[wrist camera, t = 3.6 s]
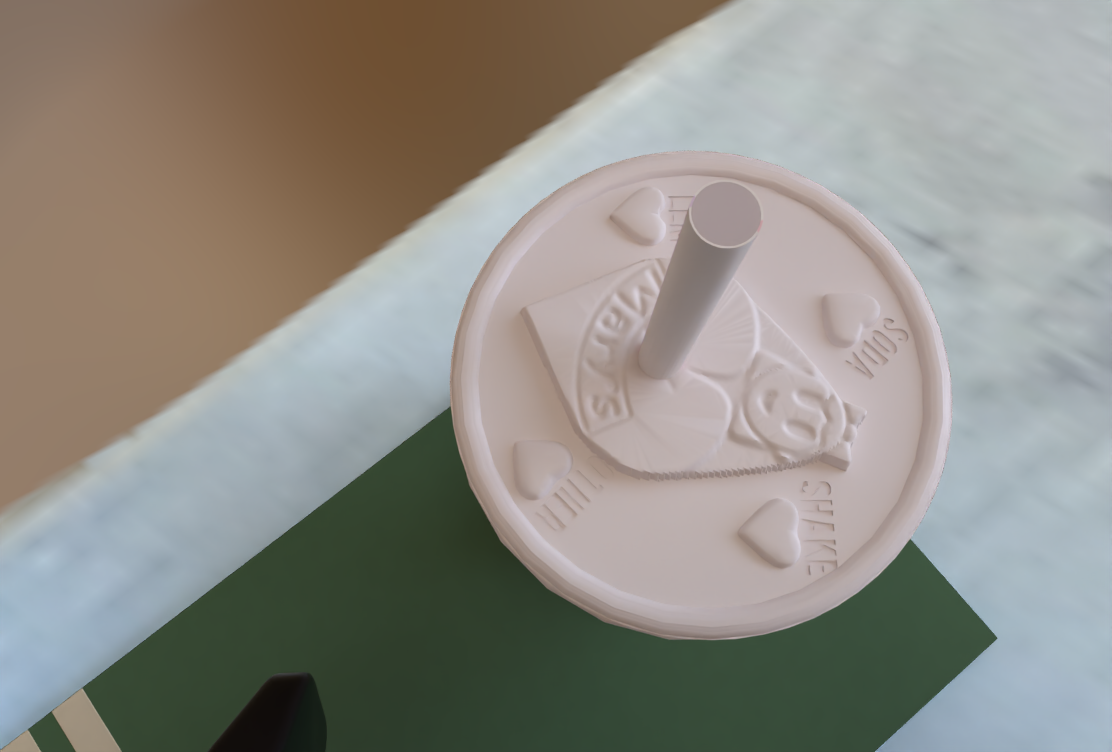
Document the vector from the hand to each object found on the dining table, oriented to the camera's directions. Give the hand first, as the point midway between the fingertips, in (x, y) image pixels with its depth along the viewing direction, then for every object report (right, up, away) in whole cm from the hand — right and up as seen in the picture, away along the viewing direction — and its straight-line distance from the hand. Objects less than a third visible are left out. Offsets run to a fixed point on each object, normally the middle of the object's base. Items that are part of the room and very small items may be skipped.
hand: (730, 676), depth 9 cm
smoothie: (0, +1, +11) cm, 11 cm away
